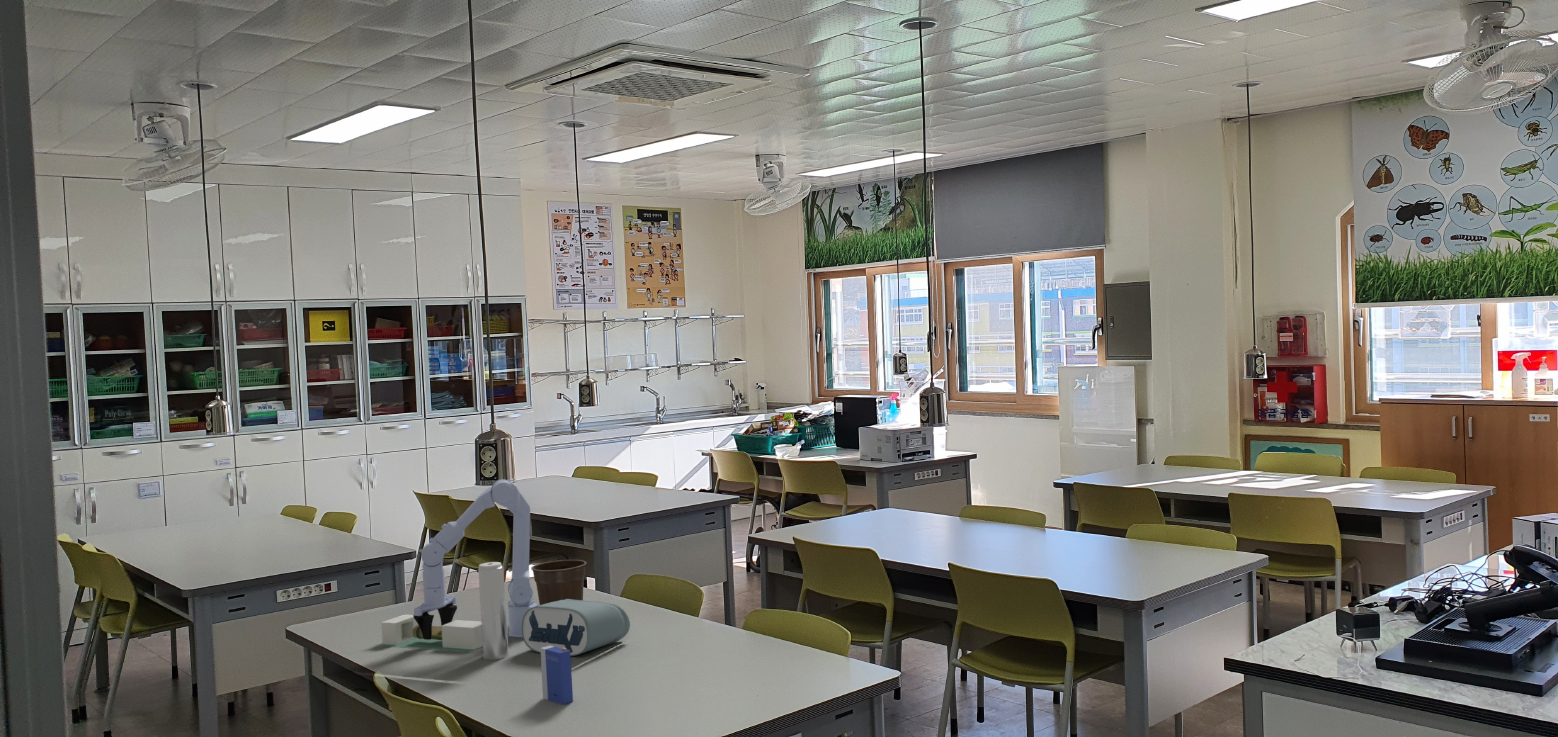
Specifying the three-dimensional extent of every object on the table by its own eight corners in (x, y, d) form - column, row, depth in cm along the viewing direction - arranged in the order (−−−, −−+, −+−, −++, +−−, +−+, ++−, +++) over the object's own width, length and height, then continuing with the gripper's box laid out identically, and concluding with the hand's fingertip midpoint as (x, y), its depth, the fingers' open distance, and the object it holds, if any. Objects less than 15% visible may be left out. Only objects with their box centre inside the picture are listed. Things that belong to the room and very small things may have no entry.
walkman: (573, 701, 248) (570, 648, 247) (563, 704, 246) (560, 651, 245) (552, 695, 253) (549, 643, 253) (542, 698, 251) (539, 646, 251)
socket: (419, 636, 312) (418, 615, 312) (396, 644, 304) (395, 623, 304) (405, 635, 314) (404, 614, 314) (382, 643, 306) (381, 622, 306)
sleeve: (489, 643, 300) (488, 621, 300) (474, 649, 295) (473, 627, 294) (458, 640, 305) (456, 619, 305) (442, 646, 299) (441, 625, 299)
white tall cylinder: (502, 661, 283) (496, 565, 283) (478, 661, 284) (473, 565, 284) (513, 654, 289) (507, 560, 289) (490, 654, 291) (484, 560, 290)
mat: (496, 642, 303) (496, 640, 303) (468, 654, 292) (468, 652, 292) (406, 635, 316) (406, 633, 316) (376, 647, 305) (375, 645, 305)
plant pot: (529, 616, 332) (526, 563, 331) (581, 608, 338) (578, 556, 338) (541, 628, 317) (537, 572, 317) (595, 619, 324) (592, 565, 323)
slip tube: (482, 640, 300) (481, 627, 300) (473, 644, 296) (472, 630, 296) (422, 636, 308) (421, 622, 308) (412, 639, 305) (412, 626, 305)
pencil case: (521, 653, 290) (520, 604, 290) (567, 638, 307) (566, 592, 307) (588, 660, 280) (587, 609, 280) (632, 644, 296) (631, 596, 297)
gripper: (440, 580, 312) (443, 627, 312) (404, 591, 298) (407, 641, 299) (460, 581, 309) (463, 629, 309) (424, 592, 295) (427, 643, 296)
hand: (436, 635), depth 304 cm, fingers open, 7 cm apart
